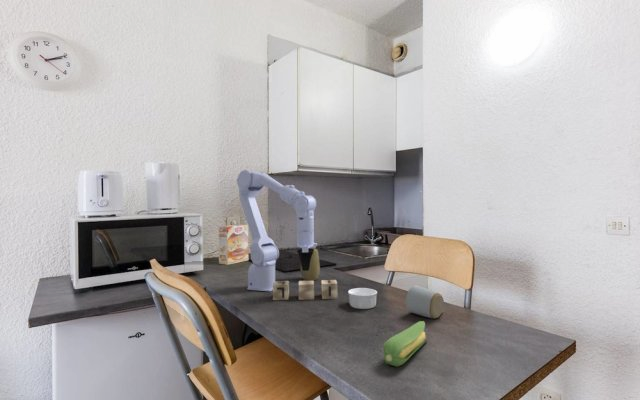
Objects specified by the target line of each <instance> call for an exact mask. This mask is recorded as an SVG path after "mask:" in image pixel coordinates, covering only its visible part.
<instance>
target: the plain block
mask: <svg viewBox="0 0 640 400" xmlns="http://www.w3.org/2000/svg"><path fill="white" fill-rule="evenodd" d="M314 282H315V280H311V281H310V280H299V281H298V301H299V300H301V301H302V300H307V301H308V300H309V301H310V300H315V283H314Z"/></svg>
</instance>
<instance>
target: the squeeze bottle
mask: <svg viewBox="0 0 640 400" xmlns="http://www.w3.org/2000/svg"><path fill="white" fill-rule="evenodd" d="M310 248H313V249H314V252H313V254H312V257H311V260H310V267H309V271H303V270H302V266H301V265H300V269H299V270H300V273H301V276H302V279H303V281H316V280H318V278H319V276H320V272H321V266H320V265H321V264H320V257H319V251H318V249H317V246H313V247H310Z"/></svg>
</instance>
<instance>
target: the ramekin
mask: <svg viewBox="0 0 640 400" xmlns="http://www.w3.org/2000/svg"><path fill="white" fill-rule="evenodd" d="M347 294H348V300H349V306H350V307H352V308H354V309H359V310H368V309H373V308H374V307H376V305H377V295H378V291H377V290H375V289H373V288H367V287H356V288H351V289H349V290H348V291H347Z"/></svg>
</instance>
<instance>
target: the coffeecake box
mask: <svg viewBox="0 0 640 400" xmlns="http://www.w3.org/2000/svg"><path fill="white" fill-rule="evenodd" d="M247 261H249V226H248V224H243V223H242V224H241V223H240V224H239V223H238V224H230V225H227V224H226V225H218V264H219V265H220V264H221V265H225V266H228V265H233V264H237V263H243V262H247Z"/></svg>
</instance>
